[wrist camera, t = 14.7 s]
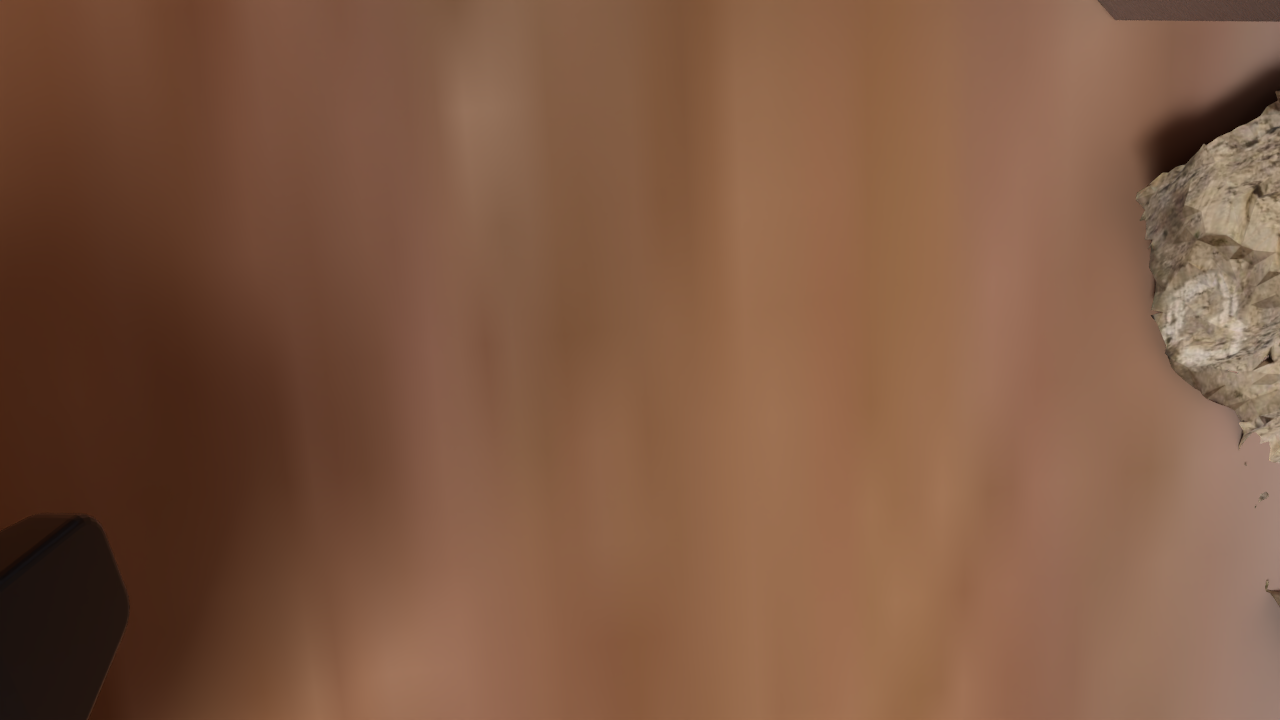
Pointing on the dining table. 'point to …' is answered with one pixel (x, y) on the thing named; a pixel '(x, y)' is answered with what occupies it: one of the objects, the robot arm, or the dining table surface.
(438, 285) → the dining table surface
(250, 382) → the dining table surface
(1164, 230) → the rock fragment
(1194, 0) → the frame
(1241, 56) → the dining table surface
